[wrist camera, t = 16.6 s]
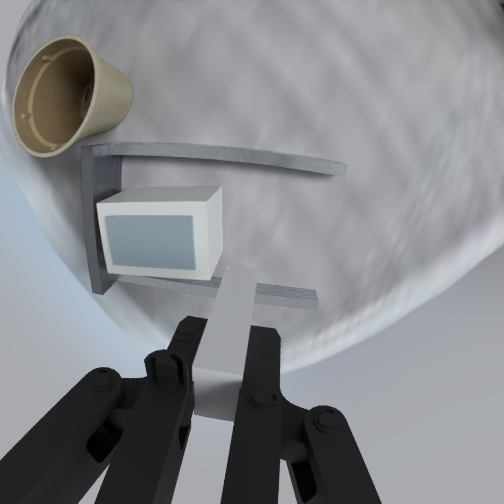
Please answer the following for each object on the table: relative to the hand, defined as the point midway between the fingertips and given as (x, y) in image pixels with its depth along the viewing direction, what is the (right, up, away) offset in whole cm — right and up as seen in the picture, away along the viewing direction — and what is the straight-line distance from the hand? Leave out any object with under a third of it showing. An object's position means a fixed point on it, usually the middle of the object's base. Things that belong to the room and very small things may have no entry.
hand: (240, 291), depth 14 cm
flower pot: (-13, +16, +8) cm, 22 cm away
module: (-7, +5, +12) cm, 15 cm away
